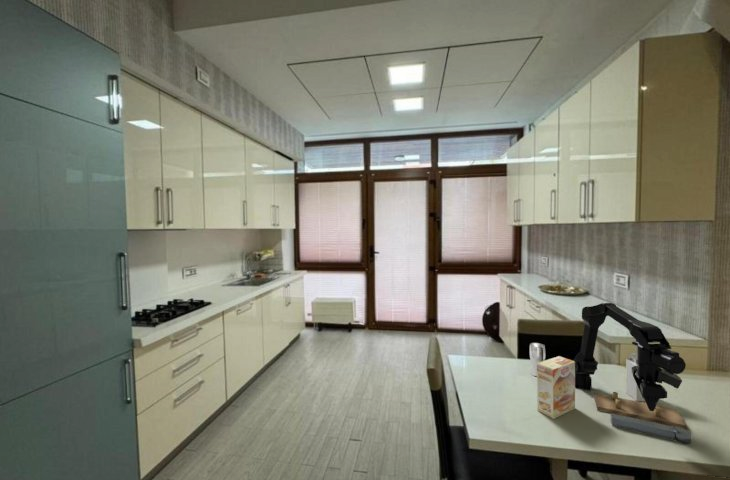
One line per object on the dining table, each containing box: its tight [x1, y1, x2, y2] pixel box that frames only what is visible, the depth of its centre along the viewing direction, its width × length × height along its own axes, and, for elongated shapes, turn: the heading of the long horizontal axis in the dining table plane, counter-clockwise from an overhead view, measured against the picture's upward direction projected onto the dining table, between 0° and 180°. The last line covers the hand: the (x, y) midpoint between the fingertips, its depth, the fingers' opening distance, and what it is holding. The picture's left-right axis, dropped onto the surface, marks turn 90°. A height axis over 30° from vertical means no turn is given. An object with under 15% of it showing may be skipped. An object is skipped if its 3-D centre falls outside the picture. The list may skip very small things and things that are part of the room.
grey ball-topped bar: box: [609, 413, 692, 445], centre depth 112 cm, size 21×5×3 cm, turn 59°
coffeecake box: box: [536, 355, 576, 420], centre depth 127 cm, size 15×7×20 cm, turn 117°
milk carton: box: [625, 352, 645, 402], centre depth 134 cm, size 7×7×19 cm
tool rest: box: [593, 391, 688, 430], centre depth 124 cm, size 26×12×4 cm, turn 59°
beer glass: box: [529, 342, 546, 378], centre depth 158 cm, size 7×7×15 cm
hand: (647, 404), depth 112 cm, fingers open, 9 cm apart
